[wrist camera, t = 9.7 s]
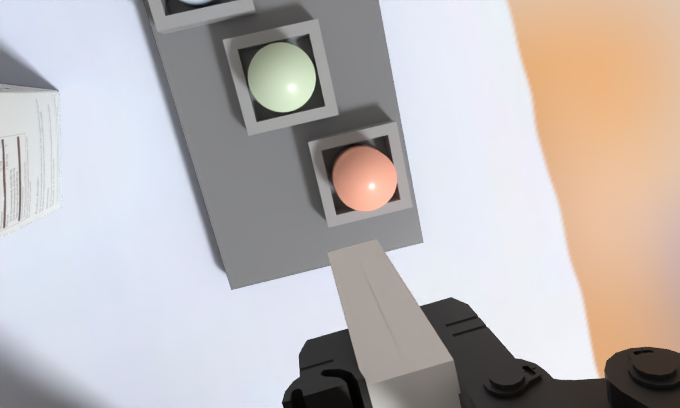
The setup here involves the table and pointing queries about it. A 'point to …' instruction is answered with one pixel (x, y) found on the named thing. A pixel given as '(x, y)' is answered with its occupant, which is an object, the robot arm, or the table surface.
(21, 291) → the table surface
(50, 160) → the supplement box
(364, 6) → the panel
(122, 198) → the table surface
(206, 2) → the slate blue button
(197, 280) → the table surface
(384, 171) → the coral button
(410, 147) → the table surface
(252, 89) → the sage button
